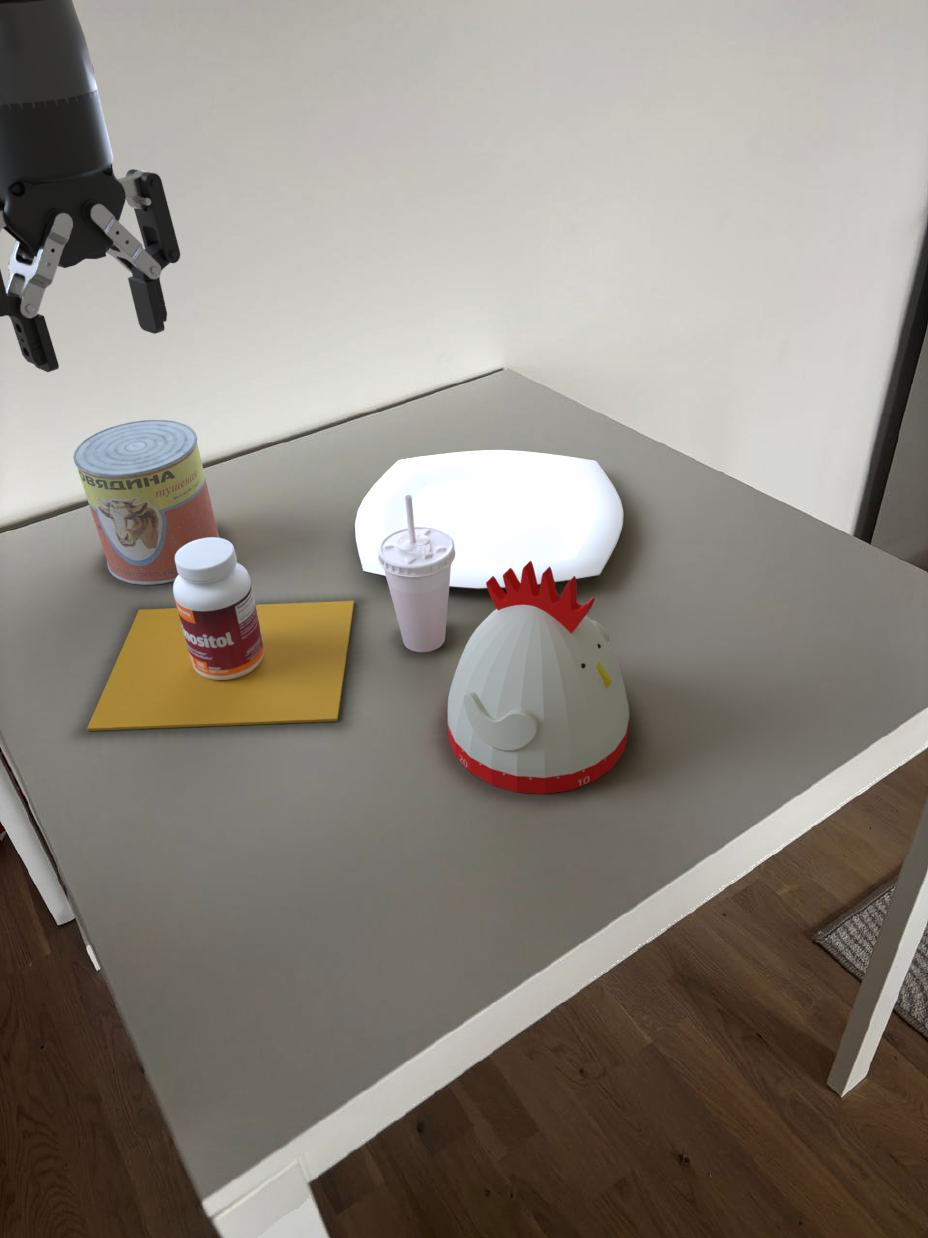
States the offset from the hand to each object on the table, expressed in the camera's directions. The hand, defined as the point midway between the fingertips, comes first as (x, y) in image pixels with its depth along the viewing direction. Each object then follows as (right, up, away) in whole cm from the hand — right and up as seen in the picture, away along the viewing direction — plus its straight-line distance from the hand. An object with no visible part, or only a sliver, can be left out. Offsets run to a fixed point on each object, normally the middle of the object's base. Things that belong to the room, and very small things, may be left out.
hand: (101, 348), depth 68 cm
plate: (+28, -10, +31) cm, 43 cm away
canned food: (-5, -12, +30) cm, 33 cm away
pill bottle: (+5, -23, +15) cm, 28 cm away
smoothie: (+22, -21, +17) cm, 35 cm away
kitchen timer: (+31, -27, +7) cm, 42 cm away
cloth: (+5, -23, +16) cm, 28 cm away
